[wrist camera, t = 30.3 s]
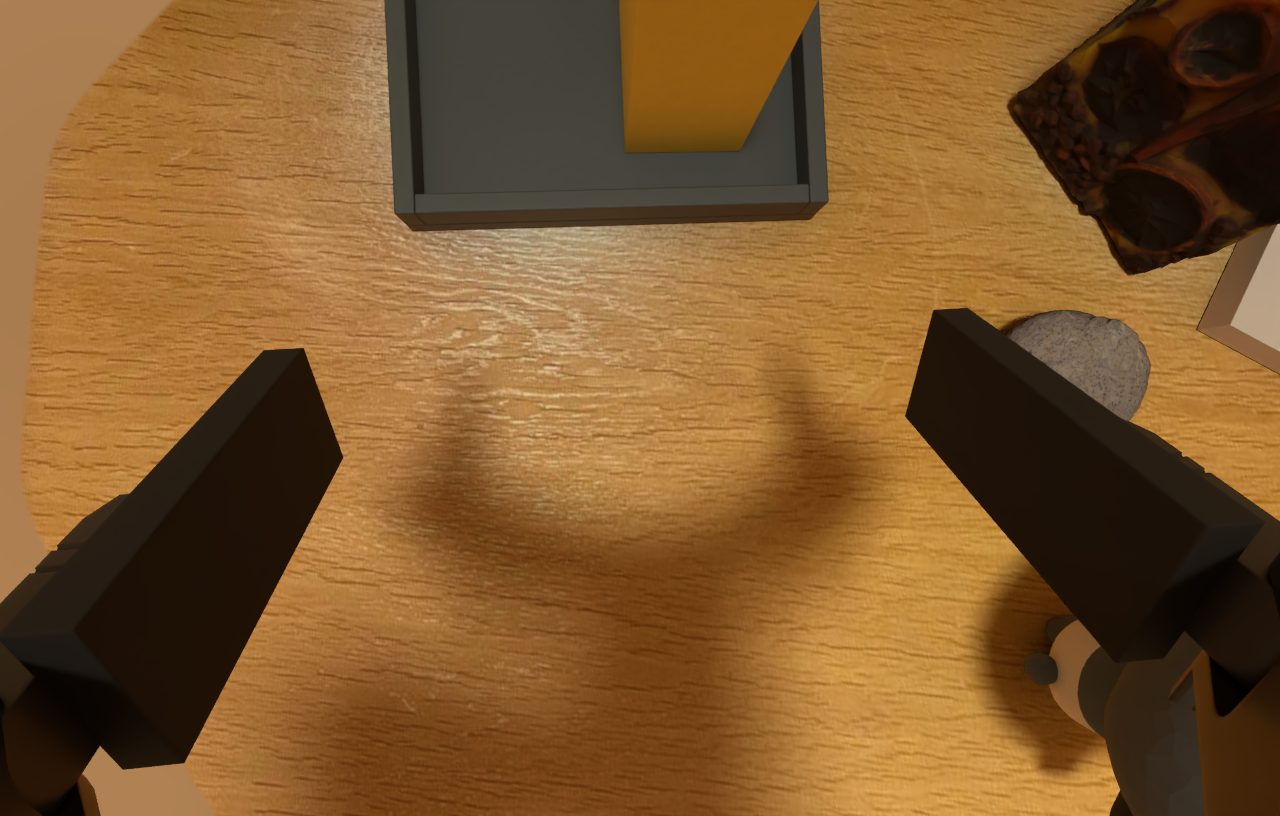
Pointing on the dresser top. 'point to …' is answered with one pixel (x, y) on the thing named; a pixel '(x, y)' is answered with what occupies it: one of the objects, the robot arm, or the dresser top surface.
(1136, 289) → the dresser top surface
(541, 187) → the tray
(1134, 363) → the stone
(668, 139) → the yellow block
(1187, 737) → the toy
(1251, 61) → the candle
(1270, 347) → the plaque
